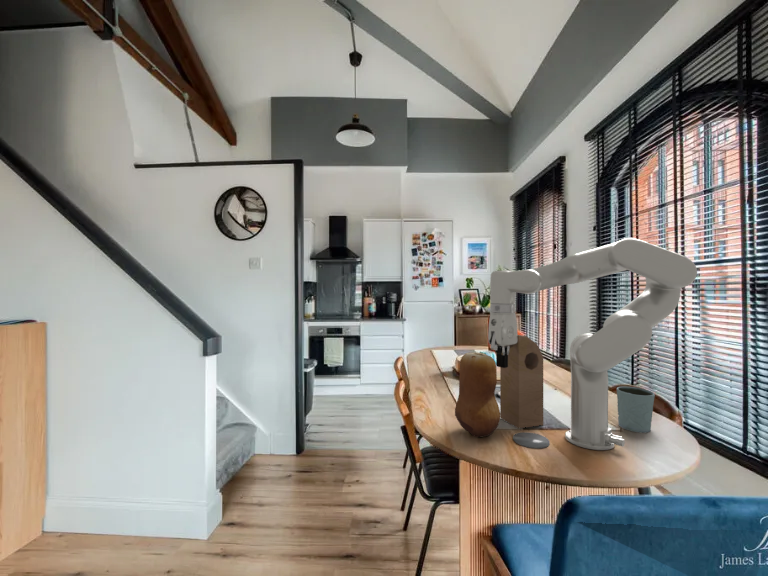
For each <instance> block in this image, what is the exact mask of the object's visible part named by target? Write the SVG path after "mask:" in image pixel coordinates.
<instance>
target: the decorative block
mask: <svg viewBox="0 0 768 576" xmlns="http://www.w3.org/2000/svg"><path fill="white" fill-rule="evenodd" d="M499 368H500V369H499V371H500V375H499V376H500V377H499V378H500V379H499V380H500V381H499V383H500V385H499V386H500V387H499V389H500V394H499V396H500V397H499V398H500V400H499V403H500V406H499V410H500V420H503V421H504V420H505V422H506V421H507V422H506V423H508V424H510V425H511V424H512V425H511V426H513V425H514V426H513V427H515V428H517V429H525V427H526V428H533V426H534V427H539V425H541V426H544V355H543V354H542V351H541V350H540V348H539V345H538V344H537V342H534V340H532V339H531V338H529V337H528V336H527V335H521V334H518V342H517V343H516V344H515V345H513V347H511V348H510V349H509V354H508V367H506V368H502V367H499Z"/></svg>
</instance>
